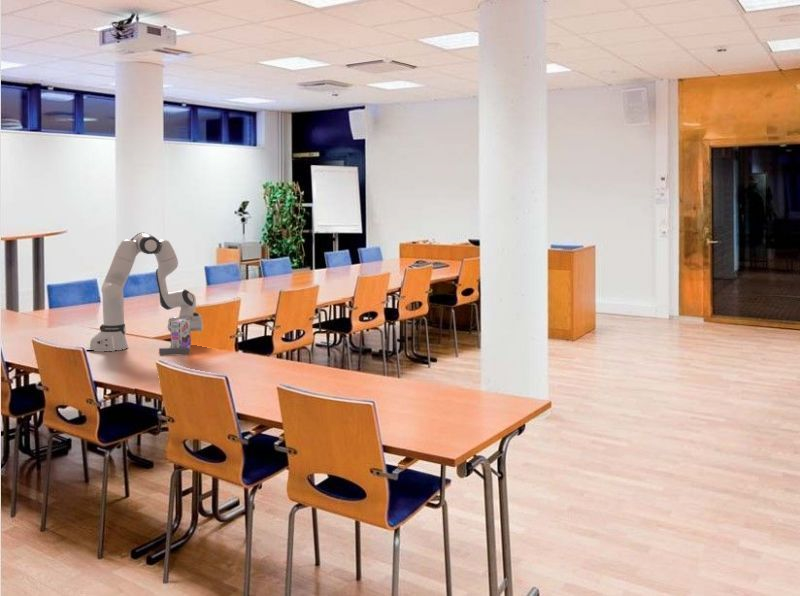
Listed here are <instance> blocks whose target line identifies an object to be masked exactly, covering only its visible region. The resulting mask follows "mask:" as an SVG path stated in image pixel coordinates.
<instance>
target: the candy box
mask: <svg viewBox="0 0 800 596" xmlns="http://www.w3.org/2000/svg"><path fill="white" fill-rule="evenodd" d="M170 330H171V331H170V346H171V348H187V347H188V346H189V345H191V346H192V339H191V338H192V337H191V335H192V334H191V331H190V319H179V320H176V321H173V322H170Z"/></svg>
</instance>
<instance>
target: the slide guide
mask: <svg viewBox="0 0 800 596" xmlns="http://www.w3.org/2000/svg"><path fill="white" fill-rule="evenodd" d="M191 348H192V344H191V345H189V346H188V347H187V348H171V345H170V346H169V347H159V348H158V351H159V352H158V355H159V354H183V355H190V354H191V353H190V349H191ZM189 353H190V354H189Z"/></svg>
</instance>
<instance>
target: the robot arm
mask: <svg viewBox="0 0 800 596" xmlns="http://www.w3.org/2000/svg"><path fill="white" fill-rule="evenodd" d="M140 253H143V254H146V255H153V254H154V256H155V258H156V262H157V268H156V270H155V278H156V283H157V288H158V294H159V303H160V306H161V308H163V309H165V310H167V311H169V310H172V309H175V308H180V310H179V313H178V315H179V316H175V317H174V316H172V317H170V318H169V319H168V321H167V322H168V324H167V330H168V332H171V330H170V322H173V321H176V320H179V319H190V332H201V331H203V329H204V327H203V326H204V325H203V317H202V315H201V313H198V312H196V306H197V301H196V300H197V299H196V296H195V294H193V293H192V292H190V291H189V290H187V289H180V290H175V291H168V286H167V282H166V280H167V279H166V278H167V277H168V276H169V275H171V274H172V273H173V272H174V271H176V270H177V268H178V265H179V260H178V257H177V255H176V252H175V250H174V248H173V246H172V244H171V242H170V241H169V240H167V239H160V240H159V239H157V237H155V236H153V235H152V234H149V233H147V232H139V233H137V234H136V235H135V236H133V237H132V238H131V239H124V240H122V241H121V242H120V244H119V245H118V247H117V249H116V251H115V253H114V256H113V259H112V260H111V263H110V266H109V269H108V271H107V273H106V276H105V278H104V281H103V284H102V286H101V293H102V317H103V318H102V319H103V323H102V324H101V325H100V326H99V330H100V331H99V332H98V333H96V334H95V335H94V336H93V337H92V338H91V339H90V341H89V346H87V347H86V348H88V349H87V350H94V351H93V352H104V351H112V352H116V351H115V350H117V351H122V349H123V350H127V349H128V348H129V345H128V342H127V337H126V323H125V313H124V312H125V309H124V307H125V304H124V303H125V302H124V301H125V300H124V287H125V284H126V282H127V280H128V278H129V276H130V274H131V272H132V269H133V266H134V263H135V260H136V257H138V256H137V255H139V254H140ZM126 348H127V349H126Z"/></svg>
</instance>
